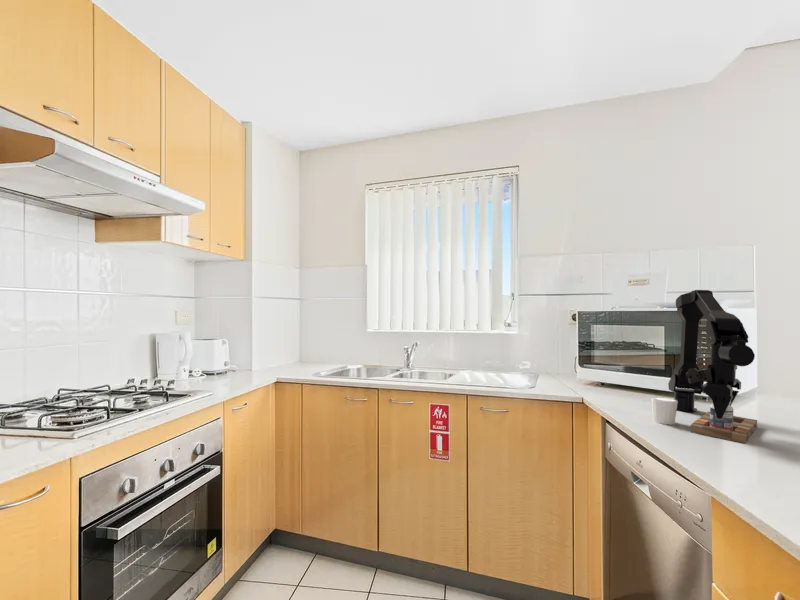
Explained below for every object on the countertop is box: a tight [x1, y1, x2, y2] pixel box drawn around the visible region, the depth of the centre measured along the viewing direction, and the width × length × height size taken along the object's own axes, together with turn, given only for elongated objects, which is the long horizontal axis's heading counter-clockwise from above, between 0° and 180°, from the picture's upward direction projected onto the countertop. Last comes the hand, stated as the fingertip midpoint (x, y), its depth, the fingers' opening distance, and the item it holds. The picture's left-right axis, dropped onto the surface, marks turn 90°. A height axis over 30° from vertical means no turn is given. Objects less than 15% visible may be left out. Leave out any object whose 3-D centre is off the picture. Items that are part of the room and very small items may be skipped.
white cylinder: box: [650, 396, 678, 426], centre depth 128 cm, size 7×7×7 cm
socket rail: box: [690, 411, 758, 444], centre depth 122 cm, size 24×12×2 cm, turn 134°
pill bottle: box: [709, 402, 734, 431], centre depth 118 cm, size 5×5×9 cm
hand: (721, 416), depth 118 cm, fingers closed on pill bottle, 5 cm apart
